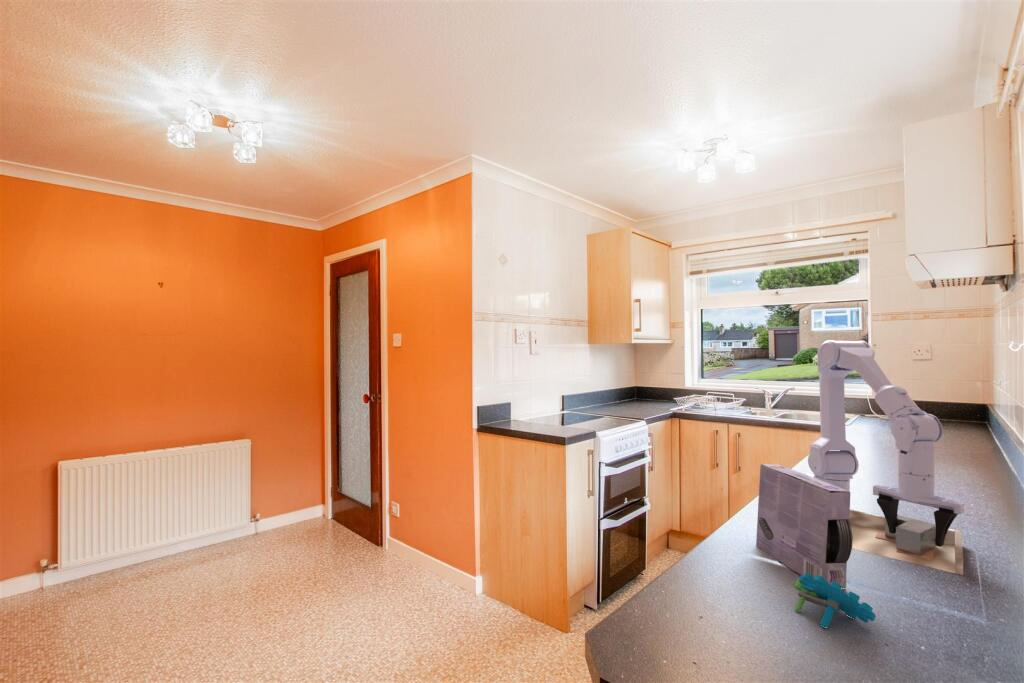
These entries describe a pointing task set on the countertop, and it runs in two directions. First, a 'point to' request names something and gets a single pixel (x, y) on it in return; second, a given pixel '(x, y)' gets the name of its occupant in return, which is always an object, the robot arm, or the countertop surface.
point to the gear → (831, 599)
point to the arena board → (873, 540)
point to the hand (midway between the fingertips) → (915, 538)
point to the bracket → (913, 535)
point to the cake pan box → (804, 523)
